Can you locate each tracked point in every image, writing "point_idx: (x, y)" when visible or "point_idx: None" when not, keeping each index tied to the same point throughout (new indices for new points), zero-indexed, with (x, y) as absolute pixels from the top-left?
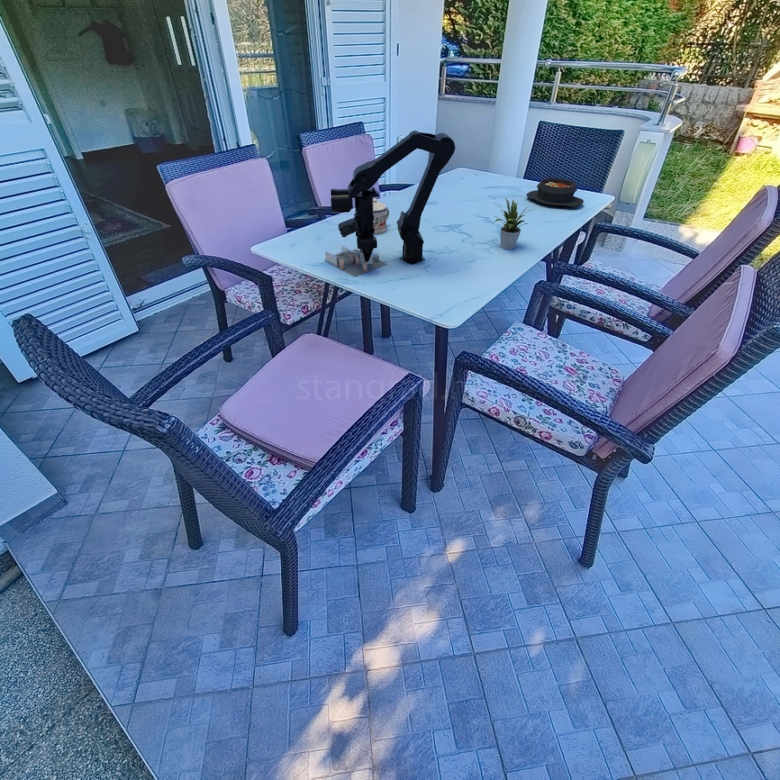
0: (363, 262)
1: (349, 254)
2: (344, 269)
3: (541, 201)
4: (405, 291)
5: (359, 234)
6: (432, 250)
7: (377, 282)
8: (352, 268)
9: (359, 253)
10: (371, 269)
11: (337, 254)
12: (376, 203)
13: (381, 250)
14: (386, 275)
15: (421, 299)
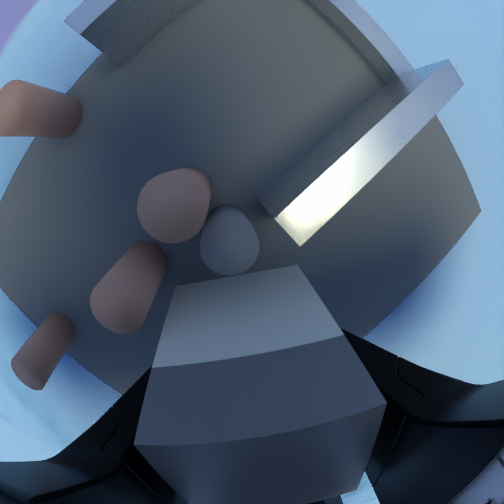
0: (21, 365)
1: (321, 153)
2: (53, 142)
3: None
4: (14, 440)
5: (496, 472)
6: (361, 491)
7: (7, 375)
8: (75, 216)
9: (417, 243)
10: (100, 369)
11: (354, 23)
12: None
13: (434, 364)
14: (87, 421)
15: (7, 454)
